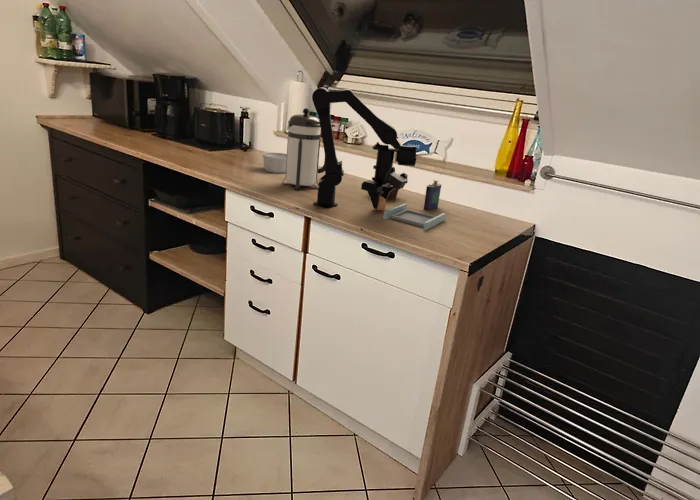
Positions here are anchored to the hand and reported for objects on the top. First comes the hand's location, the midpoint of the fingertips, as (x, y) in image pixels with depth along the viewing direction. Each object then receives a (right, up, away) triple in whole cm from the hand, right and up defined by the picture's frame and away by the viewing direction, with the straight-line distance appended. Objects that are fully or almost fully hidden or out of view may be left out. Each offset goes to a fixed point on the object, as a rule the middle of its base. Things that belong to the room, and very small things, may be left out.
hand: (378, 207), depth 174 cm
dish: (+12, -5, -6) cm, 14 cm away
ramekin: (-42, +20, +45) cm, 65 cm away
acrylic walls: (+12, -5, -6) cm, 14 cm away
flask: (+20, 0, +10) cm, 23 cm away
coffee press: (-29, +10, +23) cm, 38 cm away
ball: (0, +1, 0) cm, 2 cm away
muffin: (+4, +6, +20) cm, 22 cm away
